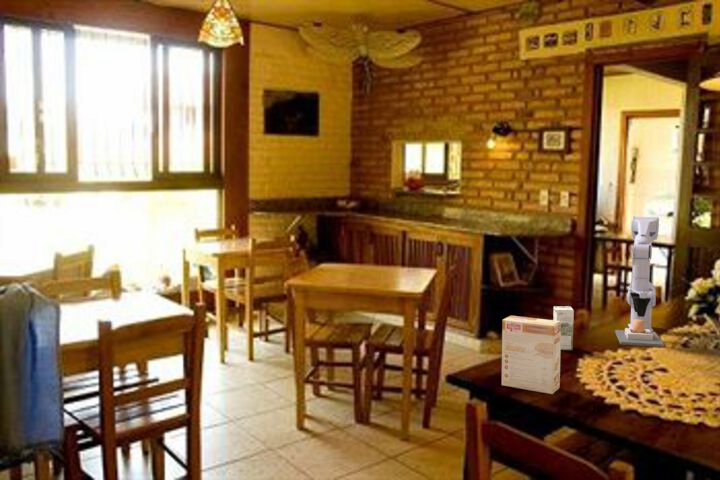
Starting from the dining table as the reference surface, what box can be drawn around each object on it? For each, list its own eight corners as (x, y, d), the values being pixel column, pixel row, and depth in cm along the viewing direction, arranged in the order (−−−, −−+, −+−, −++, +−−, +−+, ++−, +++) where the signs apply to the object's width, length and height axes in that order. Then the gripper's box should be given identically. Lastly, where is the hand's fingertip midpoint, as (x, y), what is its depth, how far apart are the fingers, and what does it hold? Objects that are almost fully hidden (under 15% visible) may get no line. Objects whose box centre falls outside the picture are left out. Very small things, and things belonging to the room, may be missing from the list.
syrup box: (568, 346, 225) (570, 305, 224) (572, 350, 219) (573, 309, 218) (552, 345, 226) (553, 305, 224) (555, 350, 220) (556, 309, 218)
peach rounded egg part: (631, 335, 236) (632, 319, 235) (643, 335, 235) (644, 319, 234) (633, 337, 232) (634, 321, 231) (645, 338, 231) (645, 322, 230)
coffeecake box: (560, 387, 182) (561, 320, 180) (552, 395, 176) (554, 325, 174) (509, 378, 190) (510, 314, 188) (500, 385, 184) (501, 319, 182)
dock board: (615, 332, 244) (615, 324, 244) (655, 334, 240) (655, 326, 240) (620, 344, 227) (621, 336, 226) (663, 347, 223) (664, 338, 223)
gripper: (626, 273, 239) (625, 309, 240) (631, 280, 225) (630, 317, 227) (646, 274, 237) (645, 310, 239) (653, 280, 223) (651, 319, 225)
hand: (639, 314), depth 232 cm, fingers open, 7 cm apart
